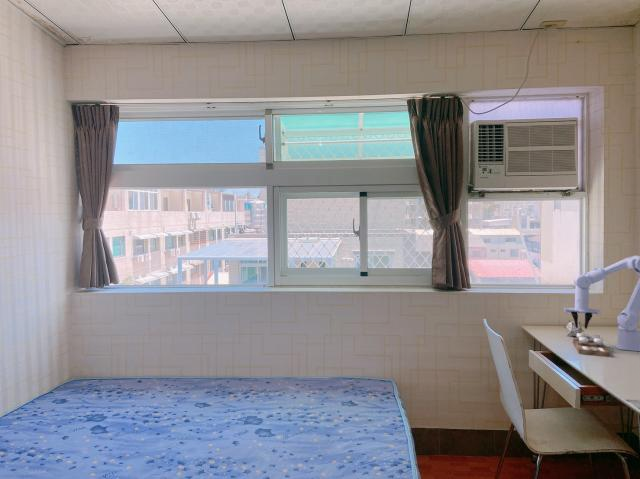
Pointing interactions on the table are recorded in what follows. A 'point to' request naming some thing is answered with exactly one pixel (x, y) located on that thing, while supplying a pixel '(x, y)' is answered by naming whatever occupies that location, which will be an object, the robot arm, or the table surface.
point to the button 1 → (583, 339)
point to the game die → (573, 329)
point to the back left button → (580, 335)
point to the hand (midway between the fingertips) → (581, 327)
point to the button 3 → (598, 341)
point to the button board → (591, 348)
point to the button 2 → (594, 336)
